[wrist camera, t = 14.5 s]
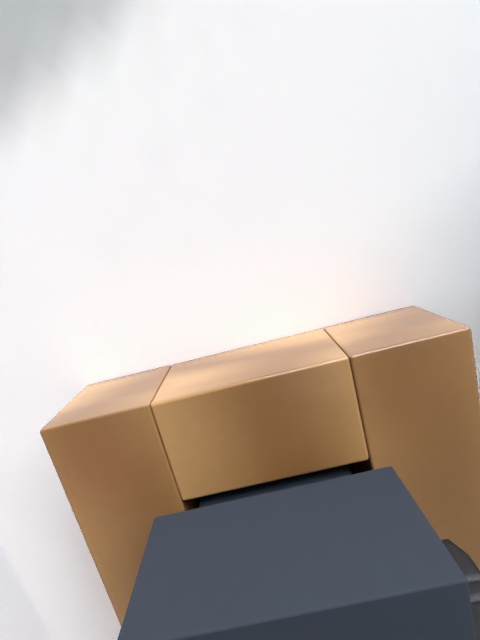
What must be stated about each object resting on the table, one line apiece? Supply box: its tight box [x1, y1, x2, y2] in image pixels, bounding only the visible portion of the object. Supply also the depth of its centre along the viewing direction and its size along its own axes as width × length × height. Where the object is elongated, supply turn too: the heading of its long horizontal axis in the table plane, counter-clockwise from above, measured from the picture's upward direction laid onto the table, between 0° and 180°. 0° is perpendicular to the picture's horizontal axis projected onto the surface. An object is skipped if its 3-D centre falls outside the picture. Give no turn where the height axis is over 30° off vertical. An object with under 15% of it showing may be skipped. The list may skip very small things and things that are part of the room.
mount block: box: [40, 306, 480, 627], centre depth 13 cm, size 11×19×3 cm, turn 14°
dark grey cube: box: [118, 465, 476, 640], centre depth 9 cm, size 6×6×6 cm
